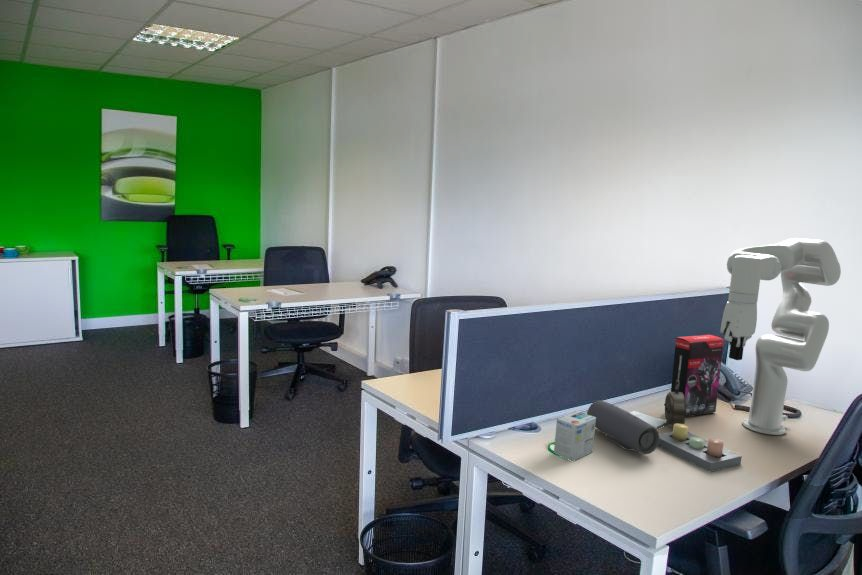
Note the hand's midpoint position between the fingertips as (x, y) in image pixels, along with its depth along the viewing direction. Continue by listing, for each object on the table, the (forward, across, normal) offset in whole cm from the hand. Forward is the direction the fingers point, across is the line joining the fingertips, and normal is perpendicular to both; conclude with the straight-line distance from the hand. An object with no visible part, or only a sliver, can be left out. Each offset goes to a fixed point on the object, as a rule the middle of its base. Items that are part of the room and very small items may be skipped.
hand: (735, 358), depth 177 cm
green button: (+27, +13, 0) cm, 30 cm away
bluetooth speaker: (+27, +29, -14) cm, 42 cm away
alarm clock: (+28, +3, -17) cm, 33 cm away
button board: (+27, +13, 0) cm, 30 cm away
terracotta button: (+25, +13, +6) cm, 29 cm away
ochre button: (+25, +13, -6) cm, 29 cm away
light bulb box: (+26, +48, -12) cm, 57 cm away
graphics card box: (+29, -16, -25) cm, 41 cm away
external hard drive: (+28, +7, -24) cm, 38 cm away
